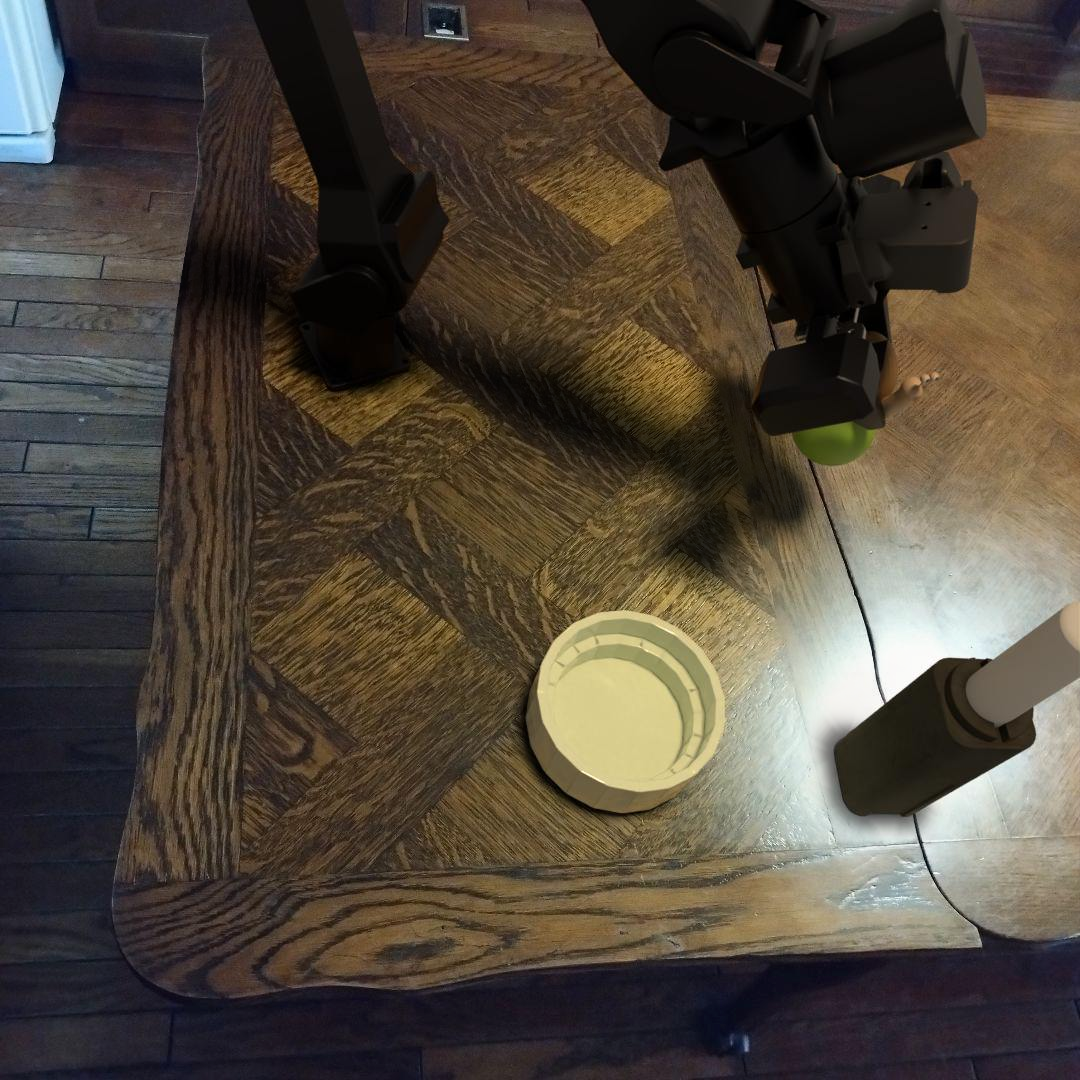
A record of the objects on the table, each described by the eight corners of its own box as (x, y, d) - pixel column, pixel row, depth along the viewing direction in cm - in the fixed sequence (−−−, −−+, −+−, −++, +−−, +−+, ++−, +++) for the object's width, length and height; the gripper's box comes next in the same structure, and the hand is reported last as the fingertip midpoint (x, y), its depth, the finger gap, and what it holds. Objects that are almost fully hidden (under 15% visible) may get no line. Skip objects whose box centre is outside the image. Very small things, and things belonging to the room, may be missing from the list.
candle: (903, 739, 65) (1174, 545, 44) (921, 817, 62) (1219, 651, 41) (830, 737, 64) (1071, 538, 43) (846, 816, 61) (1109, 645, 40)
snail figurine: (807, 500, 65) (895, 386, 55) (765, 424, 68) (841, 301, 58) (874, 485, 67) (972, 371, 57) (830, 410, 70) (916, 289, 59)
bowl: (732, 768, 62) (761, 741, 57) (579, 848, 57) (598, 825, 53) (642, 620, 66) (662, 585, 62) (493, 684, 62) (504, 651, 58)
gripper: (922, 266, 43) (1013, 495, 52) (956, 45, 53) (1027, 269, 62) (695, 328, 50) (811, 521, 59) (763, 121, 60) (853, 313, 69)
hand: (881, 400), depth 62 cm, fingers closed on snail figurine, 4 cm apart
